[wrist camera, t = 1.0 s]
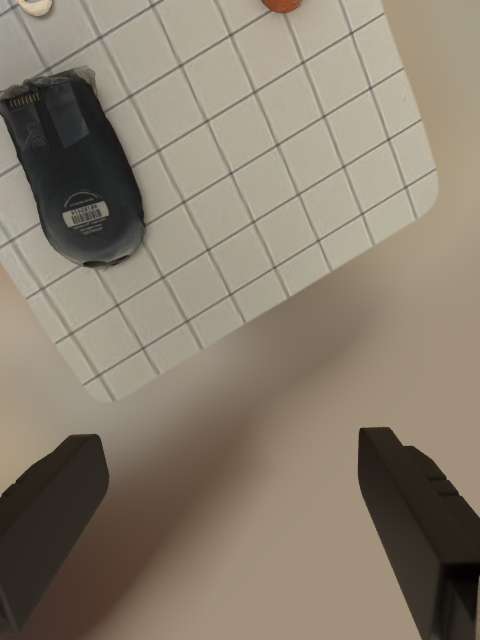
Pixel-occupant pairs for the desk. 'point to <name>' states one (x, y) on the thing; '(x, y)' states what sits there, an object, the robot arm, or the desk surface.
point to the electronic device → (75, 168)
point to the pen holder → (282, 5)
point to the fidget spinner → (36, 7)
